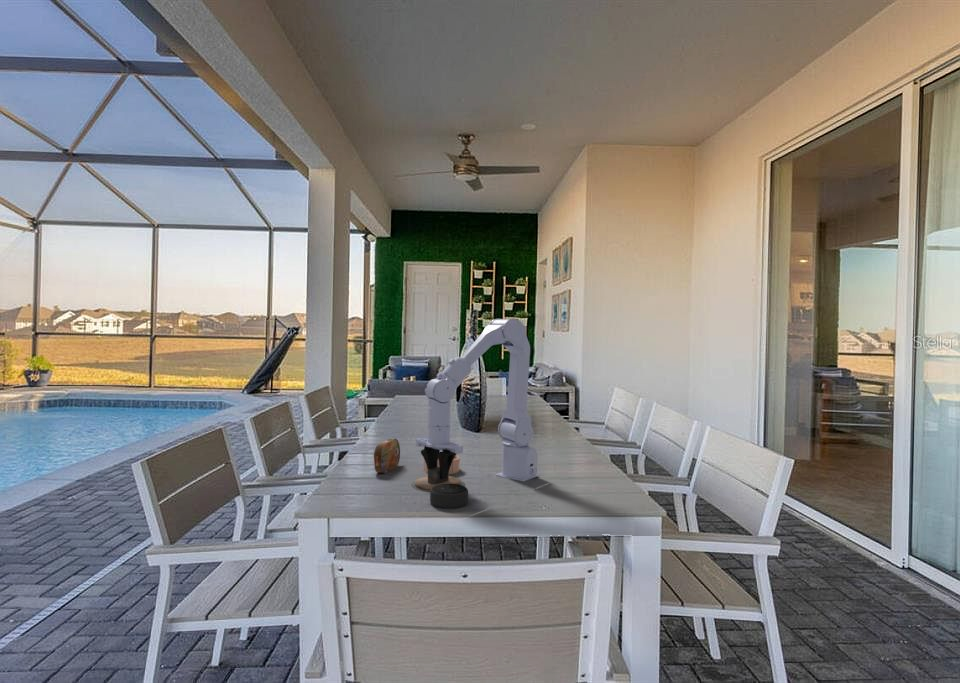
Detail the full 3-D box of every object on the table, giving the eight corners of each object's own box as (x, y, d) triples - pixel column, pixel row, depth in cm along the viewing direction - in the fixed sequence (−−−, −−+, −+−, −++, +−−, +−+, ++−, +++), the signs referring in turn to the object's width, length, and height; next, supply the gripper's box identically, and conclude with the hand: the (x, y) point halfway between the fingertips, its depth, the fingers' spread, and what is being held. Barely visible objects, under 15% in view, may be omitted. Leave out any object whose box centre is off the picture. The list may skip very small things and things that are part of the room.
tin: (382, 477, 156) (382, 446, 156) (371, 476, 157) (372, 445, 157) (400, 464, 171) (401, 436, 171) (391, 463, 172) (391, 435, 171)
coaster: (475, 484, 150) (475, 483, 150) (441, 496, 139) (441, 495, 139) (435, 475, 158) (435, 474, 158) (399, 486, 147) (399, 485, 147)
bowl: (466, 470, 164) (466, 456, 164) (443, 477, 156) (444, 463, 156) (439, 465, 170) (440, 451, 170) (417, 471, 162) (417, 457, 162)
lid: (470, 483, 150) (470, 467, 150) (440, 494, 140) (441, 477, 140) (435, 475, 157) (436, 460, 157) (405, 485, 147) (405, 469, 147)
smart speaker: (427, 500, 137) (427, 483, 136) (463, 498, 139) (464, 481, 138) (432, 512, 128) (433, 494, 128) (471, 509, 130) (471, 492, 130)
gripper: (408, 423, 149) (407, 475, 149) (450, 430, 140) (449, 485, 141) (426, 420, 155) (425, 470, 155) (468, 426, 146) (467, 479, 146)
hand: (438, 477), depth 148 cm, fingers open, 3 cm apart
